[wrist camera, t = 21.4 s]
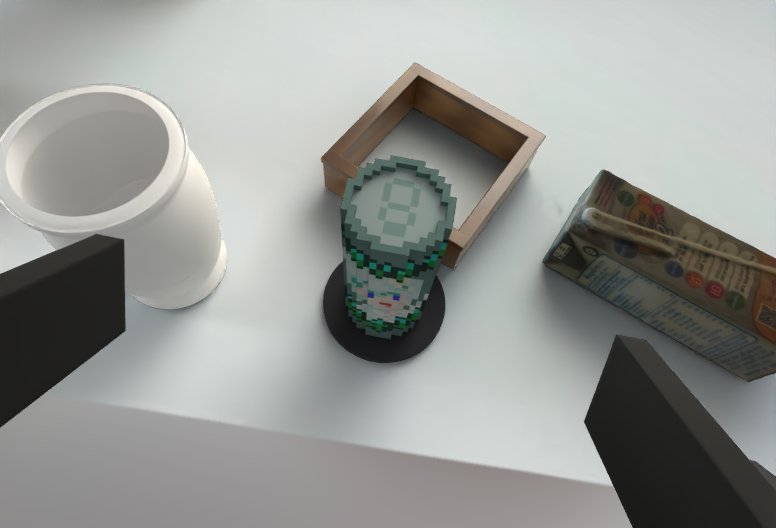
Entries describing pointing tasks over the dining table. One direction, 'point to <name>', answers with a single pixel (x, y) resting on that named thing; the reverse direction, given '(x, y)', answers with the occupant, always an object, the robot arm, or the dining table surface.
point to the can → (393, 242)
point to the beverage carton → (672, 274)
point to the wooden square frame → (453, 112)
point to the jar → (117, 187)
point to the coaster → (377, 346)
